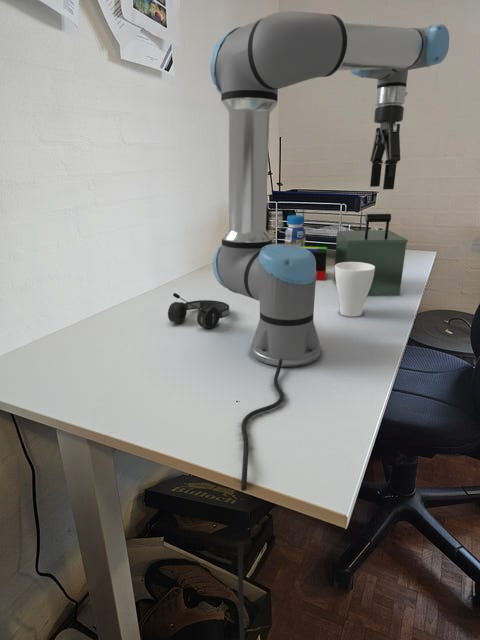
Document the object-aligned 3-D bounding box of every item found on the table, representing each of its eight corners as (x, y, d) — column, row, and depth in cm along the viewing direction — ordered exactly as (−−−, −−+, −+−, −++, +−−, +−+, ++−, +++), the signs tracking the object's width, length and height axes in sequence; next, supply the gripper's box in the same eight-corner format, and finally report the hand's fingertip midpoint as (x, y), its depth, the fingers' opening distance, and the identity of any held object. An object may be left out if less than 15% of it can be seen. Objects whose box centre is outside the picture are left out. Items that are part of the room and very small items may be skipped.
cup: (372, 320, 107) (378, 271, 102) (332, 319, 109) (336, 270, 104) (367, 307, 117) (372, 262, 112) (330, 306, 118) (333, 261, 113)
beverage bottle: (283, 263, 170) (284, 214, 163) (303, 262, 170) (305, 214, 163) (284, 267, 162) (285, 217, 155) (305, 267, 162) (307, 217, 155)
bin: (399, 295, 127) (406, 242, 121) (343, 295, 128) (347, 242, 122) (383, 280, 143) (388, 232, 137) (333, 280, 144) (337, 233, 138)
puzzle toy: (296, 278, 147) (297, 251, 143) (299, 272, 156) (300, 246, 152) (324, 280, 145) (326, 252, 141) (325, 273, 154) (327, 247, 150)
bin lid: (407, 242, 120) (411, 214, 117) (348, 243, 121) (350, 215, 118) (388, 232, 137) (391, 207, 134) (337, 233, 138) (338, 208, 135)
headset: (155, 290, 101) (197, 279, 118) (156, 327, 103) (196, 311, 121) (201, 297, 95) (238, 284, 113) (201, 335, 98) (237, 317, 115)
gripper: (420, 99, 98) (409, 190, 105) (389, 111, 121) (381, 185, 129) (389, 100, 98) (380, 190, 106) (364, 112, 121) (358, 185, 129)
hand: (381, 188), depth 117 cm, fingers open, 13 cm apart
